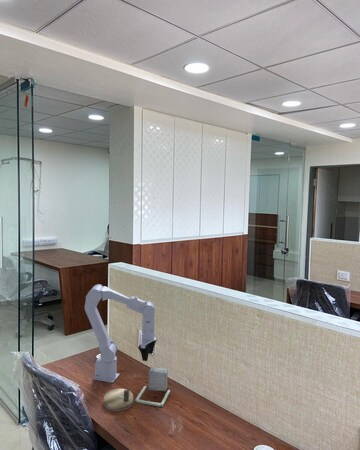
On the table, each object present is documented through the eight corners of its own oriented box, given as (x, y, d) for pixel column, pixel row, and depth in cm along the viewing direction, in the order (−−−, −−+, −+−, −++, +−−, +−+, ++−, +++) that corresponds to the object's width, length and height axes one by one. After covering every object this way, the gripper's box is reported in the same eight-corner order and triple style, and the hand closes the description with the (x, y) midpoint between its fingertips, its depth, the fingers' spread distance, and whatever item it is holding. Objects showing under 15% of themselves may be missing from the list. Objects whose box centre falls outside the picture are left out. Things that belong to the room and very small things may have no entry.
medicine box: (167, 386, 162) (167, 368, 162) (165, 391, 158) (166, 373, 157) (150, 385, 163) (150, 366, 162) (148, 390, 159) (148, 371, 158)
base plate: (98, 407, 144) (98, 407, 144) (111, 391, 156) (111, 391, 156) (126, 413, 141) (126, 412, 141) (137, 396, 153) (137, 396, 153)
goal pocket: (134, 402, 149) (134, 400, 149) (144, 387, 161) (144, 385, 161) (162, 407, 147) (162, 405, 146) (170, 391, 158) (170, 389, 158)
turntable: (97, 401, 148) (97, 387, 147) (119, 389, 157) (119, 376, 157) (117, 413, 141) (118, 398, 140) (139, 400, 150) (139, 386, 150)
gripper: (151, 335, 159) (150, 365, 160) (161, 324, 173) (160, 351, 174) (136, 333, 161) (136, 362, 162) (147, 322, 175) (146, 349, 176)
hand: (147, 356), depth 168 cm, fingers open, 7 cm apart
